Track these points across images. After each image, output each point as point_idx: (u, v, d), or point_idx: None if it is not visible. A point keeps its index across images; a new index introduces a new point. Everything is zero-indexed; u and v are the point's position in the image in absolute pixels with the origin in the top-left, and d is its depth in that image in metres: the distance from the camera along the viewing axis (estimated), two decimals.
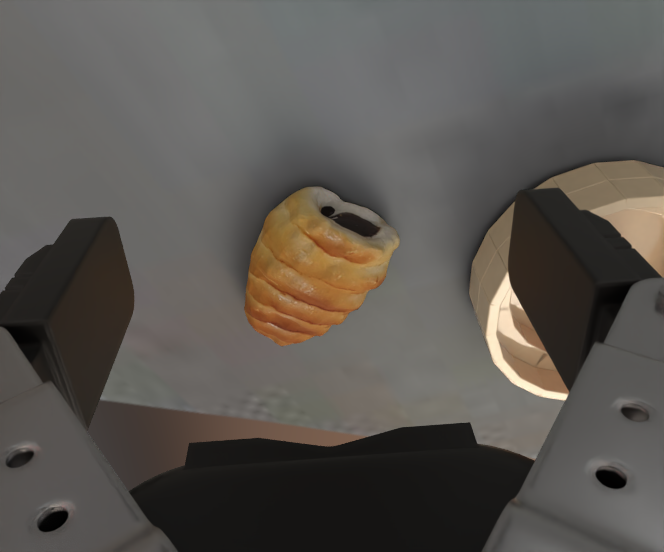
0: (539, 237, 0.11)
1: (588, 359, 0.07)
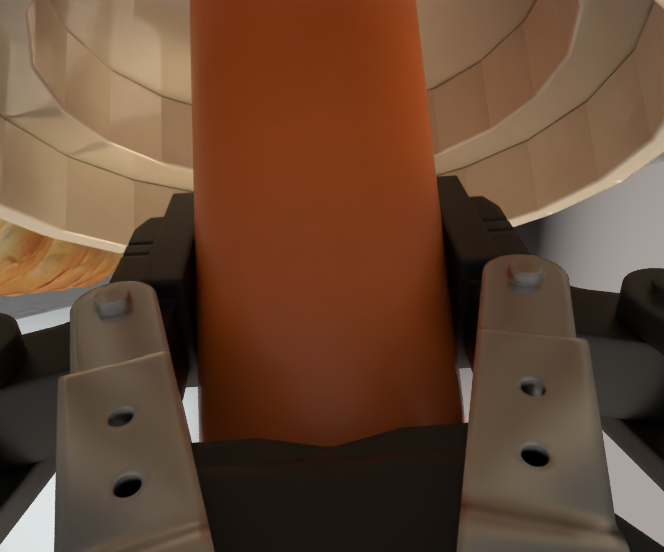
0: None
1: (478, 346, 0.07)
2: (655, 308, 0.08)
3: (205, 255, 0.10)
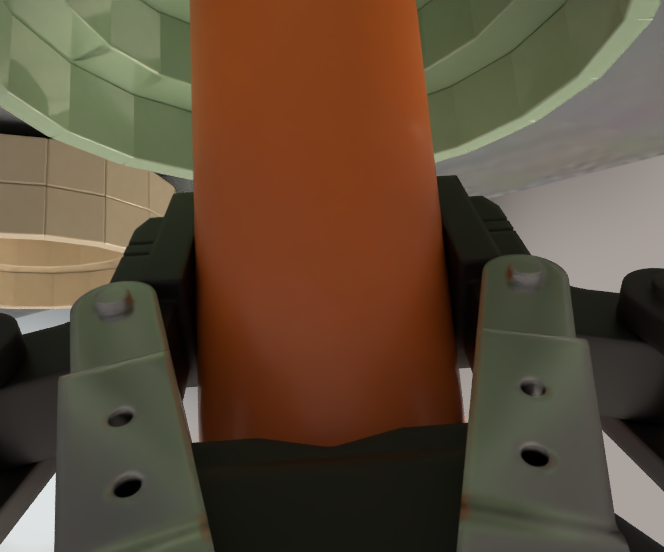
0: None
1: (477, 346, 0.07)
2: (655, 308, 0.08)
3: (205, 255, 0.10)
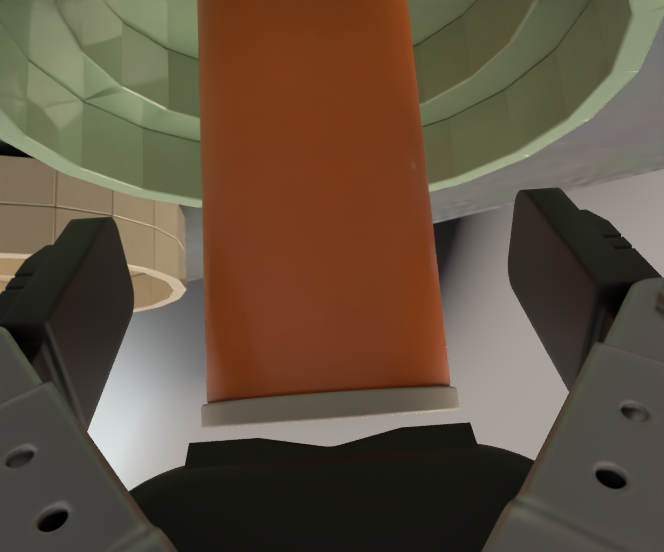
0: (539, 238, 0.11)
1: (588, 359, 0.07)
2: None
3: (210, 165, 0.11)
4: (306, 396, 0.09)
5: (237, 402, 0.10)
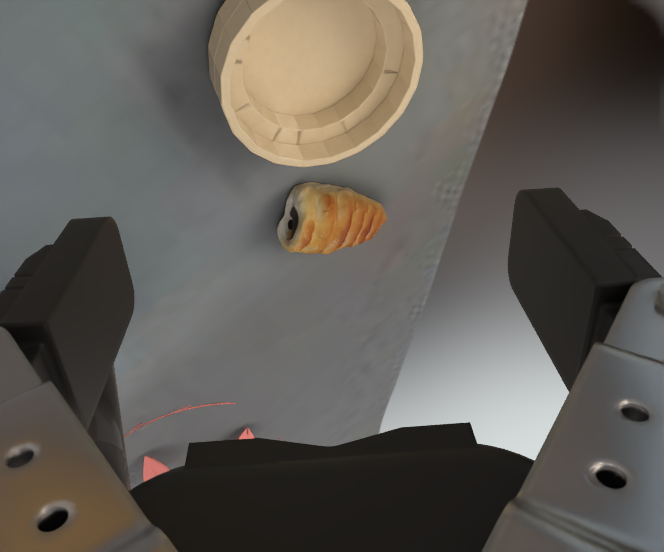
0: (539, 237, 0.11)
1: (588, 359, 0.07)
2: None
3: None
4: None
5: None
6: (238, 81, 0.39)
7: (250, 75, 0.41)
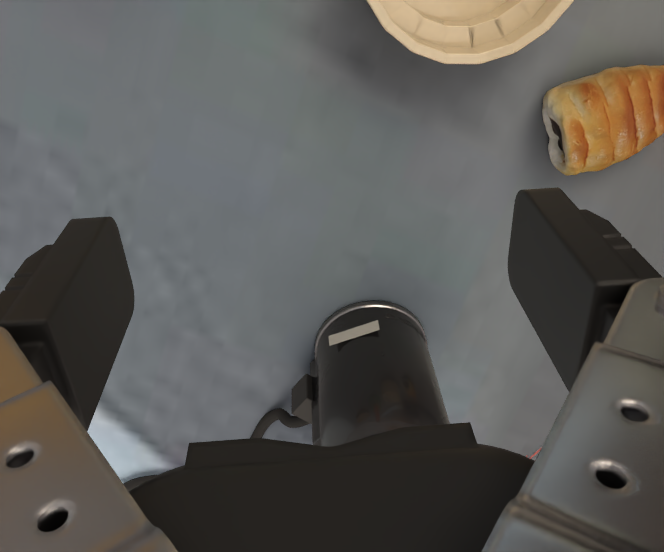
0: (539, 237, 0.11)
1: (588, 359, 0.07)
2: None
3: None
4: None
5: None
6: (397, 0, 0.36)
7: None
